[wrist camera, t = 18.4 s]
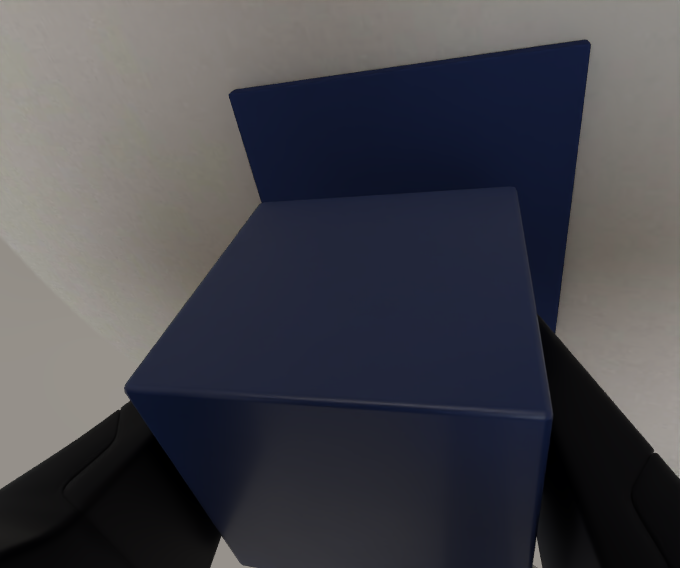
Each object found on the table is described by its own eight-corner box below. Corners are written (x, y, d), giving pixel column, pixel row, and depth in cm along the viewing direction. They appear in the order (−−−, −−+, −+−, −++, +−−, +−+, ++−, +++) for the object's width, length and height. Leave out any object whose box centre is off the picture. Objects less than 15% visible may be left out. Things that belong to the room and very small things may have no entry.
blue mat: (553, 330, 14) (554, 339, 14) (304, 326, 16) (301, 334, 16) (587, 38, 9) (591, 42, 9) (233, 89, 12) (227, 93, 11)
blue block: (508, 376, 11) (526, 618, 7) (310, 367, 12) (239, 566, 9) (516, 183, 8) (555, 417, 4) (258, 201, 10) (117, 389, 6)
